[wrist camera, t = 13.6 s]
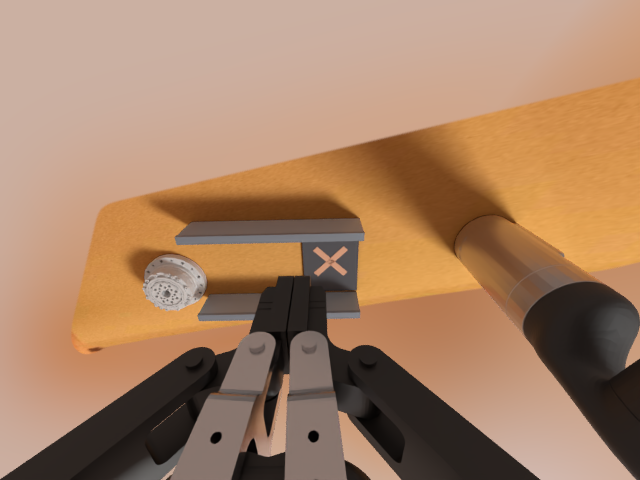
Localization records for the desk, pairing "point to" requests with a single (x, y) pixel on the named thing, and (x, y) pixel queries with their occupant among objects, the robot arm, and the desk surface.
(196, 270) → the mechanical component
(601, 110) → the desk surface
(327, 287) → the pad
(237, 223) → the plastic channel
